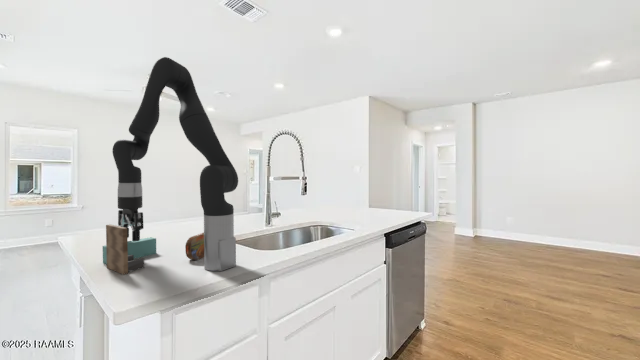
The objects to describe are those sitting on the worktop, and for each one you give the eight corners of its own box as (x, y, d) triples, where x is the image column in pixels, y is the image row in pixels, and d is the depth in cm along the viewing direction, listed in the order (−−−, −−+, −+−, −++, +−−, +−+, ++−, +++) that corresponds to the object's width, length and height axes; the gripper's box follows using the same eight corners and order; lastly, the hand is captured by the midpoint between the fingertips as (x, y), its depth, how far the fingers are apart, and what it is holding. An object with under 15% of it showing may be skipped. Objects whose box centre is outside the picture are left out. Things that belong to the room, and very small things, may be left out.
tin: (191, 262, 98) (191, 238, 98) (183, 262, 99) (183, 238, 99) (216, 251, 113) (215, 230, 113) (208, 250, 114) (208, 229, 113)
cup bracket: (147, 268, 92) (146, 225, 92) (123, 274, 86) (122, 228, 86) (129, 262, 99) (128, 222, 98) (106, 267, 93) (106, 224, 93)
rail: (156, 253, 110) (156, 238, 110) (107, 265, 97) (107, 247, 96) (151, 252, 112) (150, 237, 112) (102, 263, 99) (102, 245, 99)
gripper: (150, 195, 103) (151, 240, 104) (132, 193, 111) (132, 235, 112) (127, 197, 97) (128, 244, 97) (109, 194, 105) (110, 238, 105)
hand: (130, 239), depth 104 cm, fingers open, 8 cm apart
